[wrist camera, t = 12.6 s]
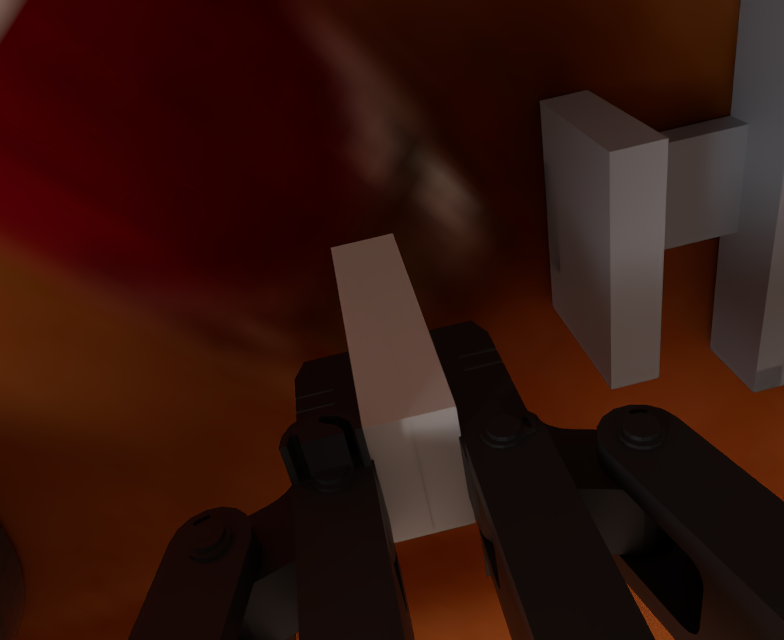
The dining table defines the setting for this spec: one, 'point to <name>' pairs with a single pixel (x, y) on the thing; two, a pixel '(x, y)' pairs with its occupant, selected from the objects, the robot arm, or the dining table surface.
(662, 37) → the dining table surface
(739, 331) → the tray
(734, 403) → the dining table surface
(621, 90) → the dining table surface
